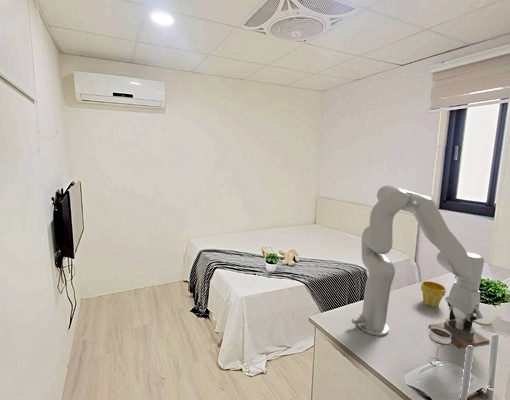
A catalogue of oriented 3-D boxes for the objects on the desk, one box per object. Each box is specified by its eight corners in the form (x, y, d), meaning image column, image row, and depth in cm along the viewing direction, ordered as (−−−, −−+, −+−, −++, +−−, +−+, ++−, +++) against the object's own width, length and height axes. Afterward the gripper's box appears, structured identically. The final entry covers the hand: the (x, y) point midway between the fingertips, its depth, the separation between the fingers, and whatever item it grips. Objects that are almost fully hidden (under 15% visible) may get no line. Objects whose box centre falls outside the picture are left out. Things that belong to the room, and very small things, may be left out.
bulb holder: (458, 348, 113) (460, 338, 113) (428, 326, 126) (430, 318, 126) (489, 342, 118) (491, 333, 117) (457, 322, 131) (458, 314, 130)
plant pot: (423, 307, 142) (426, 288, 141) (415, 297, 152) (418, 279, 151) (446, 310, 141) (449, 291, 139) (437, 300, 151) (440, 282, 149)
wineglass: (439, 356, 108) (445, 326, 106) (450, 369, 101) (456, 338, 99) (421, 354, 109) (426, 325, 106) (430, 367, 102) (436, 337, 100)
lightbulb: (471, 334, 118) (476, 310, 116) (453, 332, 119) (458, 307, 117) (463, 325, 124) (468, 302, 122) (446, 323, 125) (451, 299, 123)
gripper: (441, 275, 125) (434, 313, 128) (482, 294, 109) (473, 338, 112) (455, 273, 127) (448, 311, 130) (496, 293, 111) (487, 335, 114)
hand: (459, 323), depth 121 cm, fingers closed on lightbulb, 5 cm apart
